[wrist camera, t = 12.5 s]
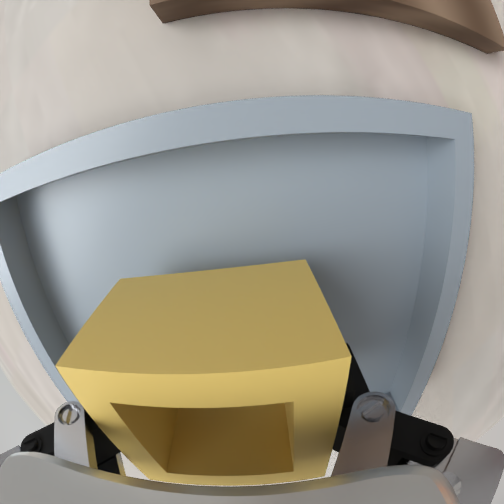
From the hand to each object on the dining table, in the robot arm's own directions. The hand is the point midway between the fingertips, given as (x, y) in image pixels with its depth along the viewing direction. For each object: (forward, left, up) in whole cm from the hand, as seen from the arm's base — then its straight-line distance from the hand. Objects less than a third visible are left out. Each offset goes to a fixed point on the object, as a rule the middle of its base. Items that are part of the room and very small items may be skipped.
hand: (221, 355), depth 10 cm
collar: (0, 0, -1) cm, 1 cm away
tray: (0, 0, -3) cm, 3 cm away
